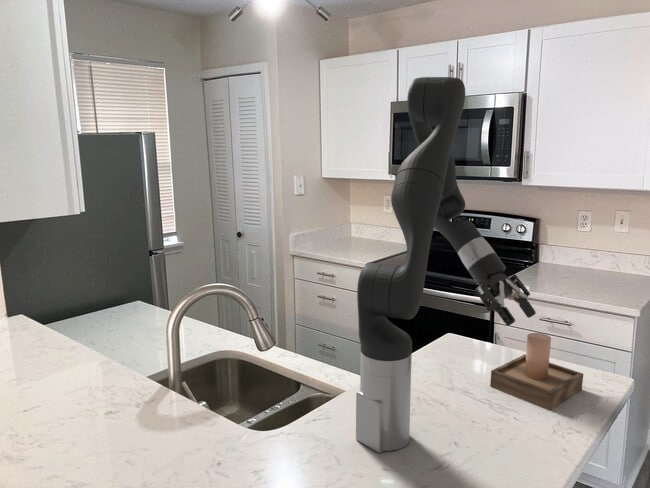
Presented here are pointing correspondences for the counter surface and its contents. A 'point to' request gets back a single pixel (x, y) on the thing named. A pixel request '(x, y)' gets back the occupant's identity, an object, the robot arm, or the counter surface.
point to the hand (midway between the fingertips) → (522, 319)
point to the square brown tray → (537, 383)
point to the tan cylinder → (537, 356)
